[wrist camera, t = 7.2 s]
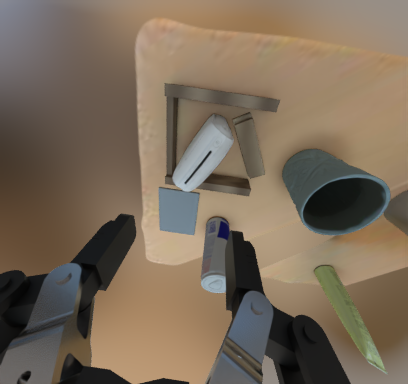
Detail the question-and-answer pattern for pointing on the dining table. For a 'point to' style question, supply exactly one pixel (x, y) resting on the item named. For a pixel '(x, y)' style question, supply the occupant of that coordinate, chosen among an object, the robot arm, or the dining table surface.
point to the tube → (348, 314)
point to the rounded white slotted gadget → (203, 153)
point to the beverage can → (215, 255)
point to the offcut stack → (249, 145)
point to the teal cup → (333, 193)
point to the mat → (178, 210)
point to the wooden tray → (212, 96)
